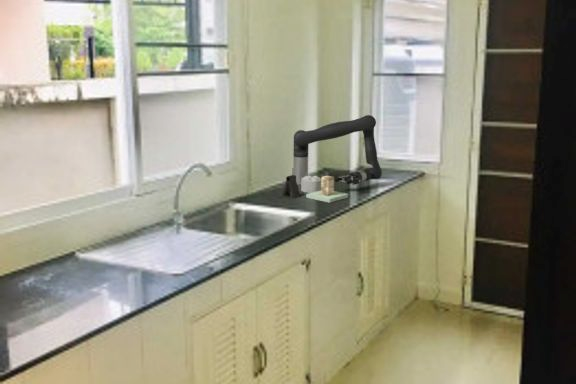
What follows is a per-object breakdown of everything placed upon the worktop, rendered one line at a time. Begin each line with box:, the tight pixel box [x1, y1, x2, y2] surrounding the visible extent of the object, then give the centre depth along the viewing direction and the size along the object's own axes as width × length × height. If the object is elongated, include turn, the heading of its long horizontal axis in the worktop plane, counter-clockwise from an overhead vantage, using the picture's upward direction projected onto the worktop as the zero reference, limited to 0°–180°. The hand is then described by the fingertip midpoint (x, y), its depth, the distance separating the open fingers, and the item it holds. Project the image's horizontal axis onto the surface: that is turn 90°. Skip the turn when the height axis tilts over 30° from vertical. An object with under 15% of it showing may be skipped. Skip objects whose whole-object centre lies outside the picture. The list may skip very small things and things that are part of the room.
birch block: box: [321, 175, 335, 196], centre depth 342 cm, size 5×5×12 cm
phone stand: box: [281, 174, 301, 199], centre depth 345 cm, size 9×6×12 cm, turn 56°
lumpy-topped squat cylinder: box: [300, 175, 322, 194], centre depth 360 cm, size 10×13×9 cm
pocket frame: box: [305, 190, 349, 203], centre depth 343 cm, size 17×17×2 cm
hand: (341, 181), depth 351 cm, fingers open, 8 cm apart
